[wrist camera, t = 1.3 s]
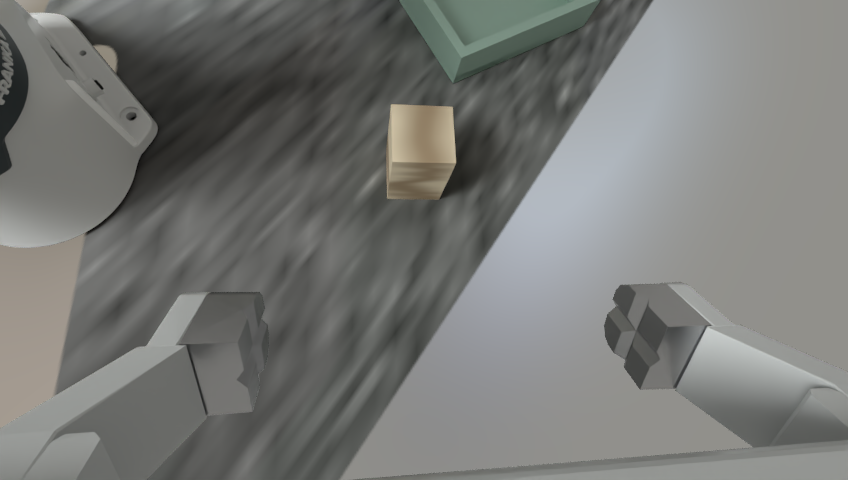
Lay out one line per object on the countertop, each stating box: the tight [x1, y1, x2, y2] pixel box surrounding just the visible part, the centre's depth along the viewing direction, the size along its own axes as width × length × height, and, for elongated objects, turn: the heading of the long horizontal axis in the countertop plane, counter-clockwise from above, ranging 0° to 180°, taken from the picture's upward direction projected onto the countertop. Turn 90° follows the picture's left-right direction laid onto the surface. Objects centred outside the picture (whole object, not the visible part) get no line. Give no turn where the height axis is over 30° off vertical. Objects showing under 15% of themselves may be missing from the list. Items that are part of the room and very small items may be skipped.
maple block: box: [386, 104, 456, 199], centre depth 37 cm, size 5×5×8 cm
